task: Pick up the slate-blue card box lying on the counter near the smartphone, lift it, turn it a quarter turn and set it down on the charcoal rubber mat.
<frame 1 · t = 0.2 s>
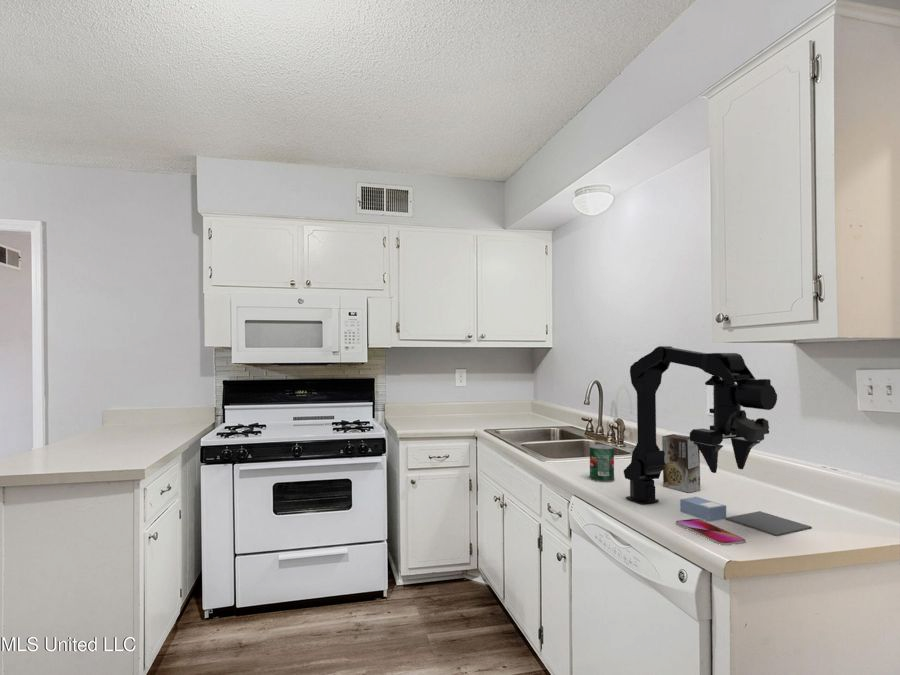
hand: (727, 470, 121), 14 cm above the worktop, tool pointing down, fingers open, 9 cm apart
canned tomato: (602, 480, 169), on the worktop
smartphone: (709, 535, 119), on the worktop
card box: (702, 515, 132), on the worktop
mat: (767, 523, 125), on the worktop
coffee box: (681, 489, 158), on the worktop
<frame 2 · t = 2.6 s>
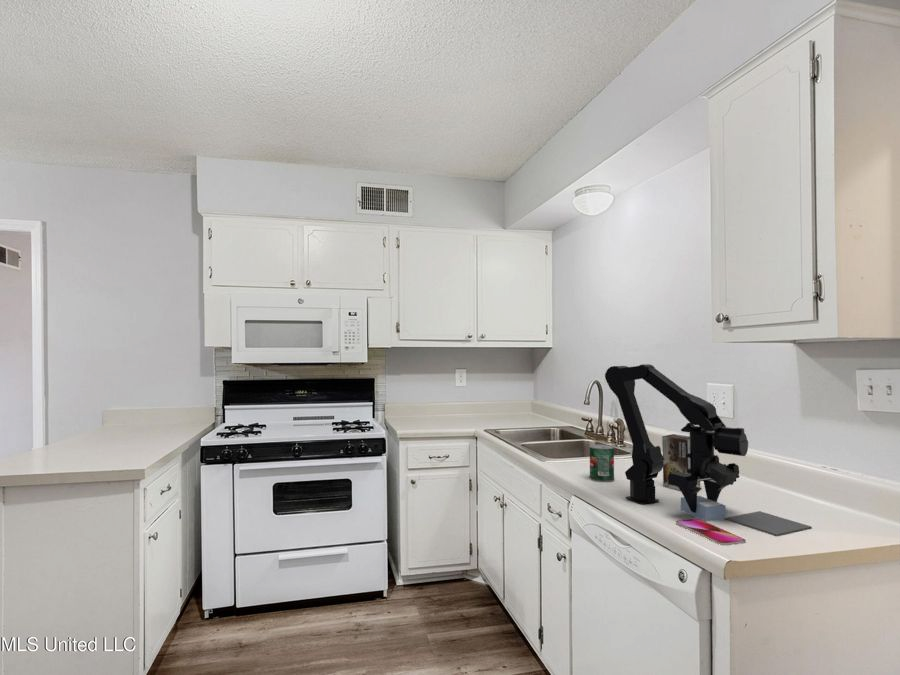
hand: (702, 510, 132), 1 cm above the worktop, tool pointing down, fingers closed on card box, 6 cm apart
card box: (702, 514, 132), on the worktop, touching gripper
everything else where it was.
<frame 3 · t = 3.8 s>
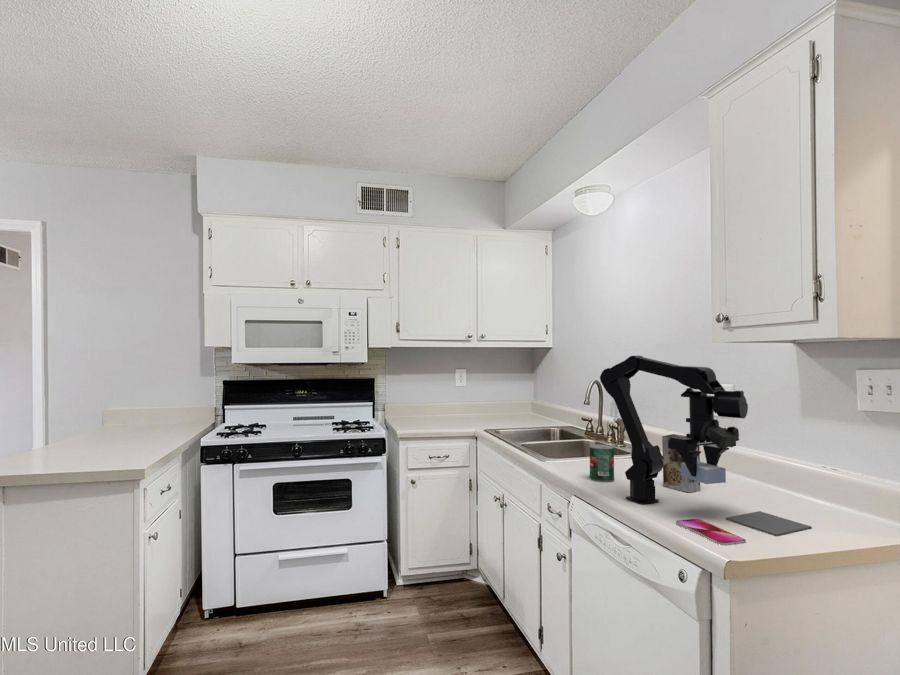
hand: (702, 475, 132), 10 cm above the worktop, tool pointing down, fingers closed on card box, 6 cm apart
card box: (702, 479, 132), point 9 cm above the worktop, touching gripper
everything else where it was.
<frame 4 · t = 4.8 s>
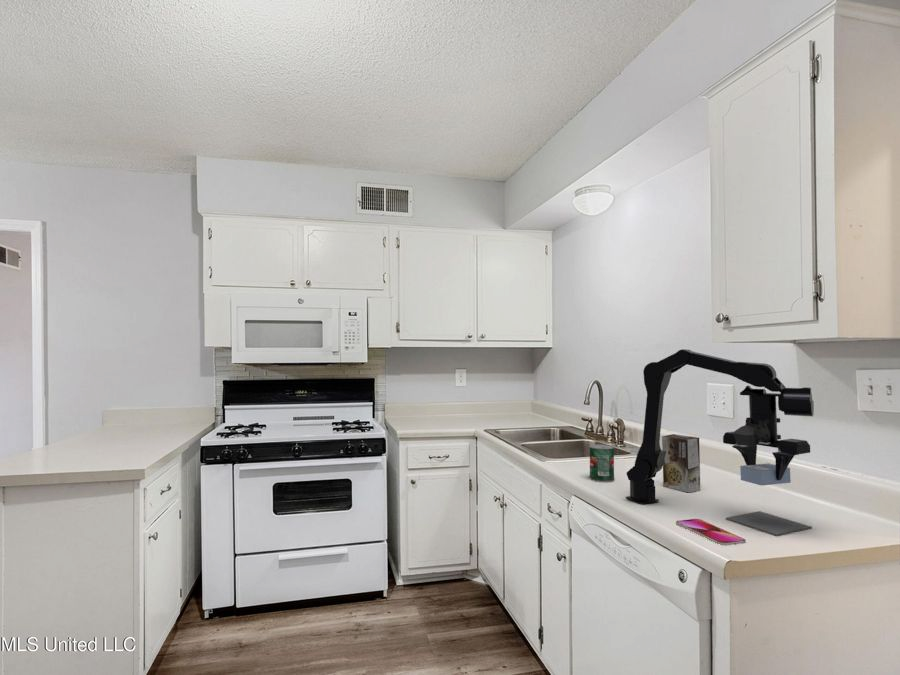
hand: (765, 477, 125), 11 cm above the worktop, tool pointing down, fingers closed on card box, 6 cm apart
card box: (765, 481, 125), point 10 cm above the worktop, touching gripper
everything else where it was.
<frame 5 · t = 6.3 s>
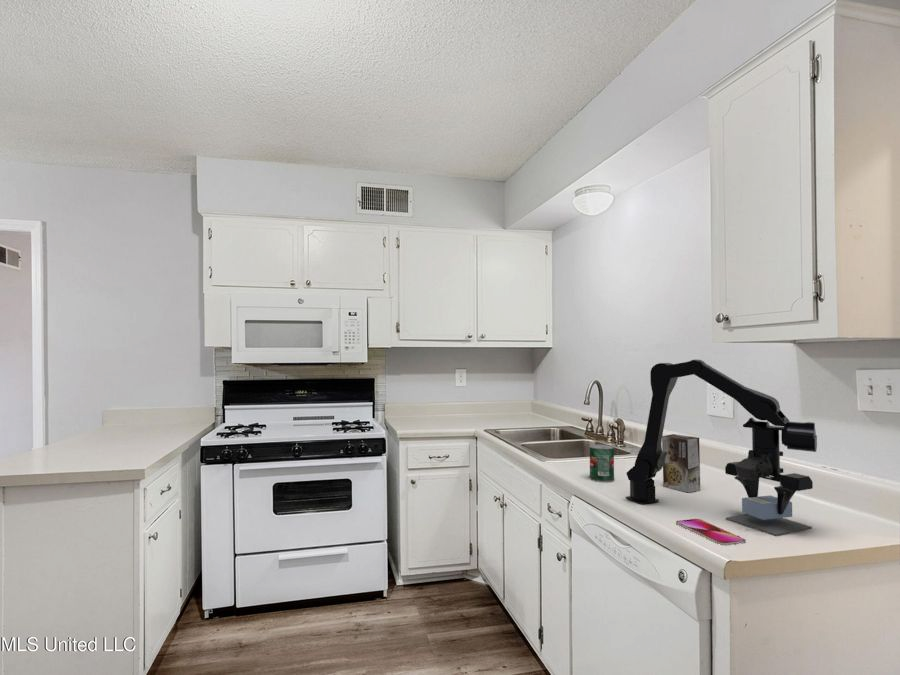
hand: (766, 510, 125), 3 cm above the worktop, tool pointing down, fingers closed on card box, 6 cm apart
card box: (766, 514, 125), point 2 cm above the worktop, touching gripper
everything else where it was.
when the fingers open (3 cm above the worktop, at t = 7.2 s): card box drops 2 cm, resting on mat.
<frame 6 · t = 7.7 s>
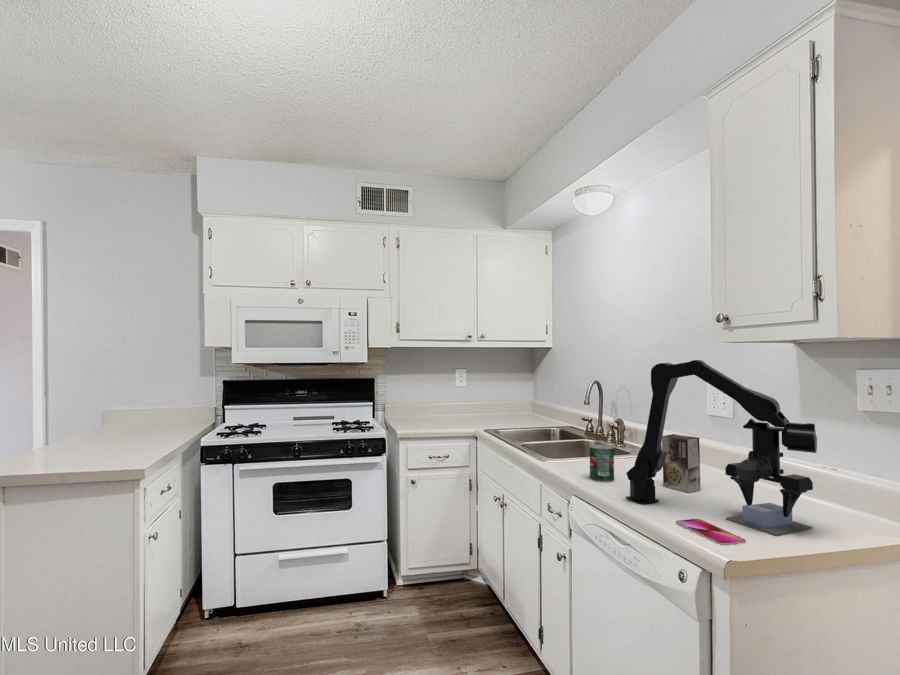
hand: (767, 511, 125), 3 cm above the worktop, tool pointing down, fingers open, 9 cm apart
card box: (767, 521, 125), resting on mat
everything else where it was.
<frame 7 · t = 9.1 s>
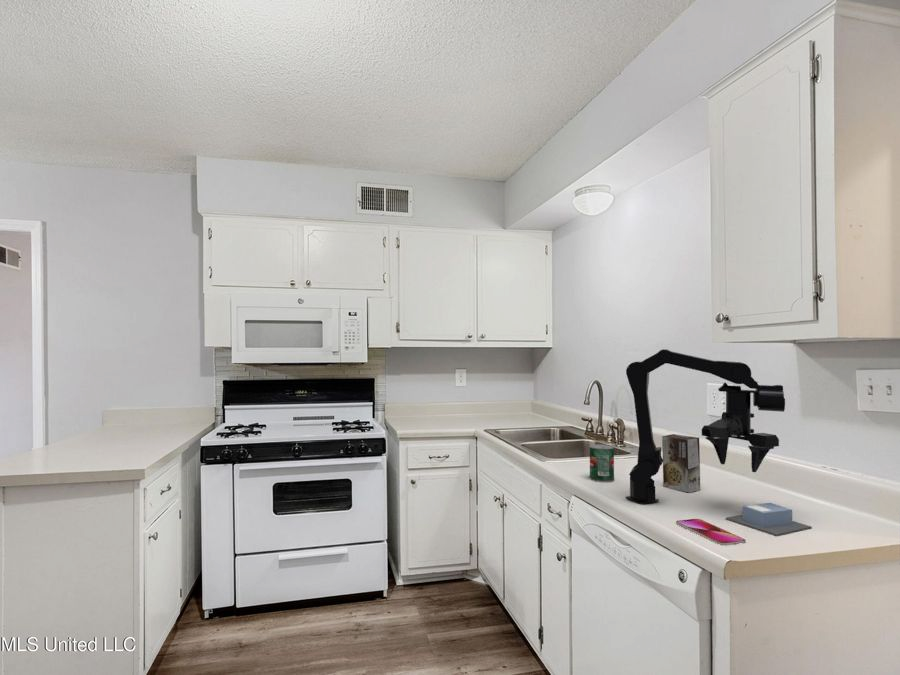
hand: (737, 468, 134), 12 cm above the worktop, tool pointing down, fingers open, 9 cm apart
nothing on the worktop moved.
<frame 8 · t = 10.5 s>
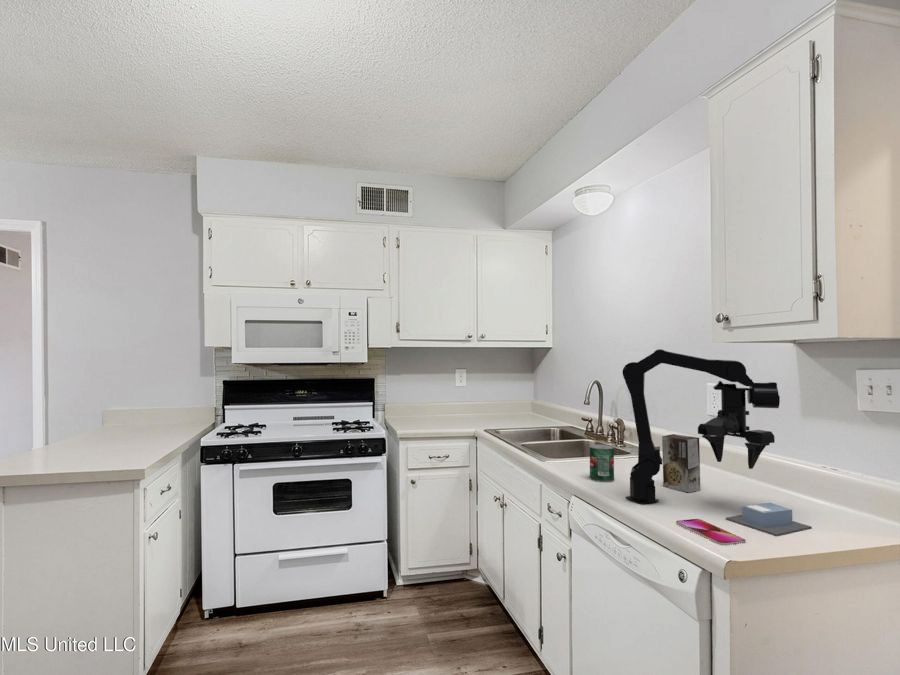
hand: (734, 465, 136), 12 cm above the worktop, tool pointing down, fingers open, 9 cm apart
nothing on the worktop moved.
at the end: card box inside the target area on the mat (0.0 cm from its centre), point 0.4 cm above the mat's base; card box tilted 0°; the gripper is holding nothing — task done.
